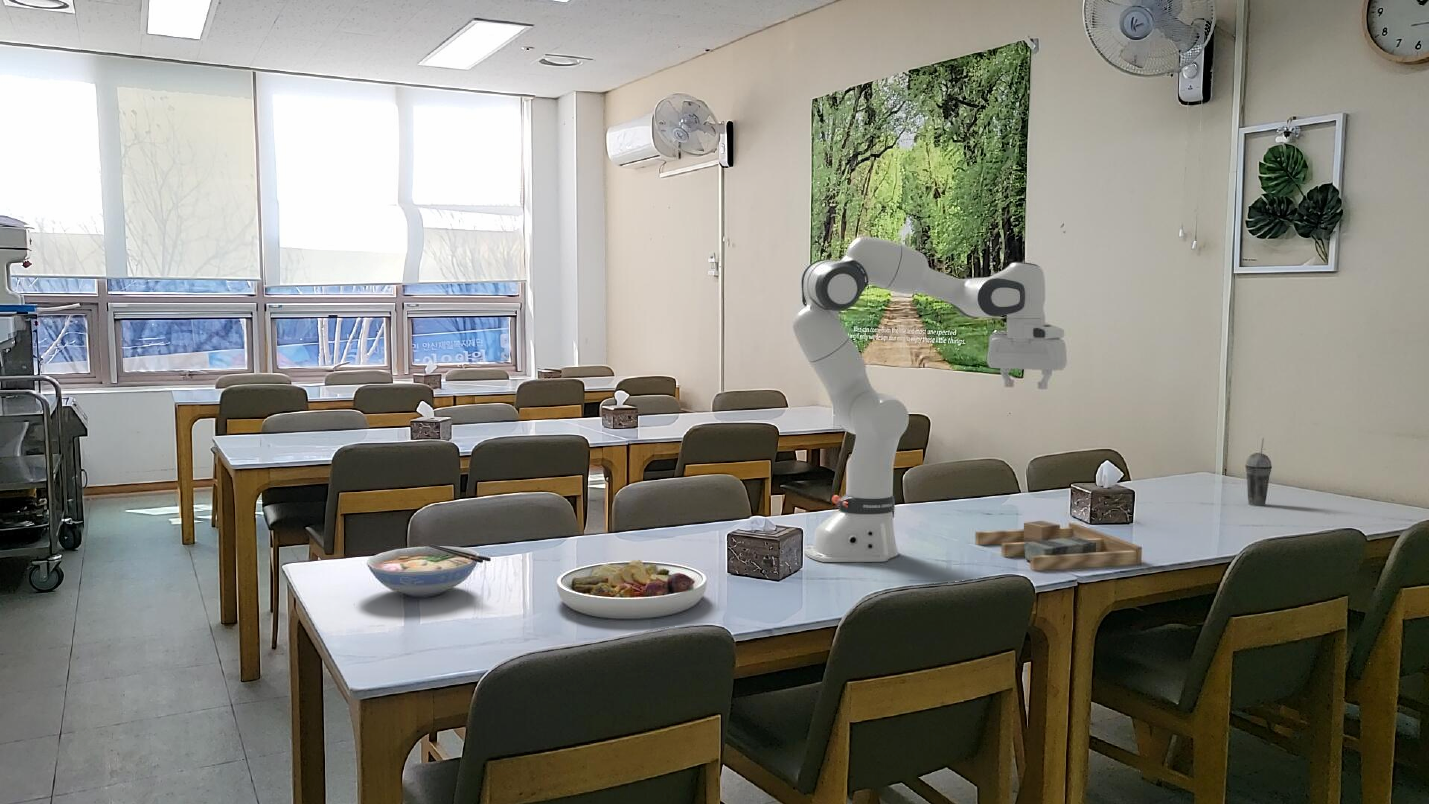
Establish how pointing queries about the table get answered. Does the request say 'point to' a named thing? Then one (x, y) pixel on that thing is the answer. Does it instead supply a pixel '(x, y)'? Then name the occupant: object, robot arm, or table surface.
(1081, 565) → the divided wooden tray
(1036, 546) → the stone block
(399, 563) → the ramen bowl
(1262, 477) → the beverage cup
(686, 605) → the bowl
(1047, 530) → the walnut block
